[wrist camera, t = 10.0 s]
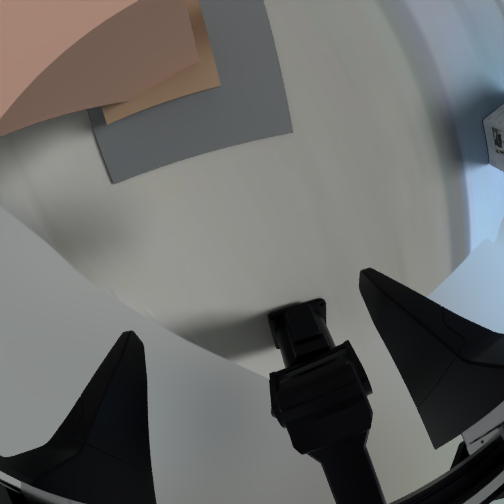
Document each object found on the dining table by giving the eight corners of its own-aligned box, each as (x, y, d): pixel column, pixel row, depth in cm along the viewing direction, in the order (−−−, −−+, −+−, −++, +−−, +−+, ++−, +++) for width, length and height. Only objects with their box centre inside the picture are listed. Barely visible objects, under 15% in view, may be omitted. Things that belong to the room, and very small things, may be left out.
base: (218, 87, 16) (220, 85, 13) (123, 118, 16) (107, 124, 13) (196, 3, 12) (195, -14, 9) (101, 37, 12) (82, 29, 9)
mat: (291, 131, 19) (293, 132, 19) (115, 183, 19) (113, 184, 18) (258, -11, 12) (259, -13, 12) (72, 47, 12) (71, 47, 12)
